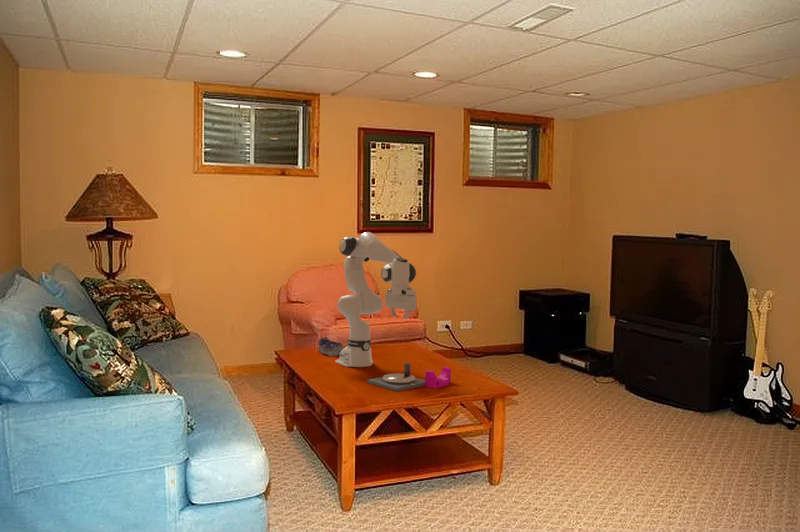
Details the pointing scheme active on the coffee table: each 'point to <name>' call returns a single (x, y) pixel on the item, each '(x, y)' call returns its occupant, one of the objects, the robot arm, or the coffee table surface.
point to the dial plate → (396, 387)
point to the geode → (329, 347)
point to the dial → (400, 376)
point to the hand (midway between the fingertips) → (399, 317)
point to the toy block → (438, 378)
